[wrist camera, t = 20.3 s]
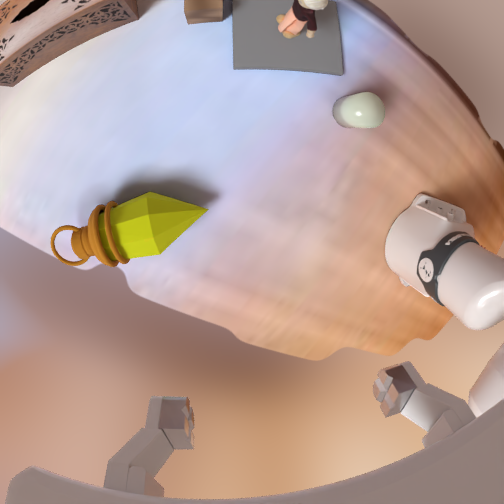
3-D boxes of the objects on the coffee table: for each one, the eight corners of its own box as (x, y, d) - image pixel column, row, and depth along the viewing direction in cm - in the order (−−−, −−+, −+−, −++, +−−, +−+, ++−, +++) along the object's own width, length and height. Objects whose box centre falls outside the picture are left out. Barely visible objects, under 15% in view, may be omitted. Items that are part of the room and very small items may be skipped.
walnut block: (221, -3, 27) (222, -18, 22) (222, 21, 29) (222, 7, 24) (188, 0, 26) (184, -15, 22) (188, 24, 28) (184, 11, 24)
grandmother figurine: (265, 13, 28) (283, -29, 16) (287, 7, 28) (312, -34, 16) (290, 53, 31) (320, 22, 19) (313, 45, 31) (348, 15, 19)
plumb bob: (199, 168, 38) (51, 213, 34) (206, 191, 31) (30, 244, 27) (210, 221, 44) (72, 258, 40) (219, 253, 36) (59, 294, 33)
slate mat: (333, 3, 28) (335, 1, 27) (340, 75, 34) (343, 74, 33) (232, -6, 27) (232, -9, 26) (233, 69, 32) (233, 67, 31)
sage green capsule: (361, 99, 35) (384, 95, 29) (361, 129, 37) (385, 129, 31) (332, 95, 35) (352, 89, 29) (332, 126, 37) (353, 125, 31)
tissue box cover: (13, 86, 26) (-22, 84, 17) (14, 29, 21) (-16, 19, 11) (139, 20, 27) (119, -7, 18) (133, -36, 21) (117, -64, 12)
